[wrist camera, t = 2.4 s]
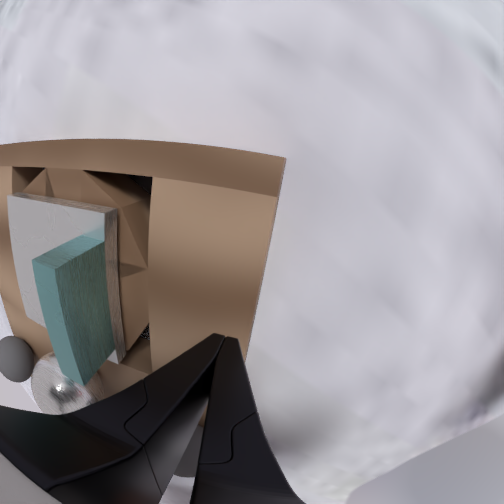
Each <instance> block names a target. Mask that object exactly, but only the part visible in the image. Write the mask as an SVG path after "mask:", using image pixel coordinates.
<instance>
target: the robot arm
mask: <svg viewBox="0 0 504 504" xmlns="http://www.w3.org/2000/svg"><path fill="white" fill-rule="evenodd" d="M207 404H208V405H207ZM206 406H207V411H206V416H205V422H204V428H203V434H202V440H201V446H200V452H199V458H198V465H197V470H196V476H195V481H194V486H193V490H192V495H191V499H190V504H306V503H304V502H303V501H302V500H301V499H300V498H299V497H298V496H297V495H296V494H295V492H294V491H293V490H292V488H291V487H290V485H289V483H288V482H287V480H286V478H285V476H284V474H283V472H282V470H281V468H280V466H279V464H278V462H277V460H276V458H275V456H274V454H273V452H272V450H271V448H270V446H269V443H268V441H267V439H266V436H265V433H264V431H263V428H262V424H261V421H260V418H259V414H258V412H257V407H256V404H255V400H254V396H253V393H252V389H251V385H250V382H249V378H248V374H247V370H246V366H245V362H244V358H243V354H242V351H241V347H240V343H239V340H238V338H234V337H230V336H227V337H225V335H222V334H218V333H213V334H211V335H210V336H208V337H207V338H205V339H204V340H202V341H201V342H199V343H198V344H196V345H194V346H193V347H191V348H190V349H188V350H187V351H185V352H184V353H182V354H181V355H179V356H178V357H176V358H175V359H173V360H171V361H170V362H168V363H167V364H165V365H164V366H162V367H160V368H159V369H157V370H156V371H154V372H152V373H151V374H149V375H148V376H146V377H144V378H143V379H141V380H139V381H138V382H136V383H134V384H133V385H131V386H129V387H127V388H126V389H124V390H122V391H120V392H118V393H116V394H114V395H112V396H110V397H107V398H105V399H103V400H100V401H98V402H96V403H93V404H91V405H88V406H86V407H83V408H81V409H78V410H76V411H73V412H70V413H66V414H59V415H52V414H44V413H37V412H31V411H25V410H19V409H14V408H10V407H5V406H1V405H0V504H159V502H160V500H161V498H162V495H163V494H164V492H165V490H166V488H167V486H168V484H169V482H170V480H171V478H172V476H173V474H174V472H175V470H176V468H177V466H178V464H179V462H180V460H181V458H182V456H183V454H184V452H185V450H186V448H187V445H188V443H189V441H190V439H191V437H192V435H193V433H194V431H195V429H196V427H197V425H198V423H199V421H200V418H201V416H202V414H203V412H204V410H205V408H206Z"/></svg>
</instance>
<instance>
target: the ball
mask: <svg viewBox="0 0 504 504" xmlns="http://www.w3.org/2000/svg"><path fill="white" fill-rule="evenodd" d="M31 387H32V392H33V396H34V399H35V401H36V403H37V405H38V406H39V408H40V409H41V410H42V412H43V413H44V414H52V415H59V414H66V413H70V412H73V411H76V410H78V409H81V408H83V407H86V406H88V405H91V404H93V403H96V402H98V401H100V400H103V399H104V389H103V385H102V382H101V379H100V377H99V375H98V373H97V372H96V373H95V374H94V375H93V377H92V378H91V379H90V380H89V382H88V383H87V384H86V385H85V387H84V386H82V385H80V384H78V383H77V382H75V381H73V380H71V379H70V378H68V377H66V376H64V375H63V374H62V372H61V369H60V367H59V364H58V361H57V358H56V356H55V353H54V351H53V352H50V353H48V354H46V355H44V356H43V357H42V358H40V360H39V361H38V362H37V363H36V365H35V367H34V369H33V373H32V377H31Z"/></svg>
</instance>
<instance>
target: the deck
mask: <svg viewBox="0 0 504 504" xmlns="http://www.w3.org/2000/svg"><path fill="white" fill-rule="evenodd" d="M285 163H286V158H284V157H279V156H273V155H268V154H262V153H256V152H250V151H243V150H237V149H230V148H223V147H215V146H207V145H198V144H188V143H177V142H165V141H150V140H130V139H65V140H46V141H32V142H21V143H12V144H4V145H0V294H1V297H2V301H3V304H4V308H5V311H6V314H7V317H8V320H9V323H10V326H11V329H12V332H13V334H14V336H15V337H18V338H20V339H22V340H23V341H25V342H26V343H27V344H28V346H29V347H30V349H31V351H32V353H33V356H34V362H35V365H36V363H37V362H38V361H39V360H40V358H42V357H43V356H44V355H46V354H48V353H50V352H53V351H54V350H53V347H52V344H51V341H50V338H49V334H48V331H47V329H46V328H45V327H43V326H41V325H40V324H38V323H36V322H35V321H33V320H32V319H30V318H28V317H27V316H26V312H25V308H24V305H23V301H22V297H21V293H20V289H19V284H18V280H17V275H16V270H15V265H14V259H13V253H12V246H11V238H10V229H9V219H8V204H7V195H10V194H13V193H17V192H22V193H28V194H34V195H41V196H47V197H53V198H59V199H65V200H71V201H77V202H83V203H88V204H94V205H100V206H106V207H111V208H117V264H118V284H119V298H120V309H121V319H122V327H123V335H124V343H125V350H126V355H125V357H124V358H123V359H122V360H121V362H120V363H119V364H116V363H114V362H112V361H109V360H106V361H105V362H104V363H103V364H102V366H101V367H100V368H99V369H98V371H97V373H98V375H99V377H100V379H101V382H102V385H103V389H104V399H105V398H107V397H110V396H112V395H114V394H116V393H118V392H120V391H122V390H124V389H126V388H127V387H129V386H131V385H133V384H134V383H136V382H138V381H139V380H141V379H143V378H144V377H146V376H148V375H149V374H151V373H152V372H154V371H156V370H157V369H159V368H160V367H162V366H164V365H165V364H167V363H168V362H170V361H171V360H173V359H175V358H176V357H178V356H179V355H181V354H182V353H184V352H185V351H187V350H188V349H190V348H191V347H193V346H194V345H196V344H198V343H199V342H201V341H202V340H204V339H205V338H207V337H208V336H210V335H211V334H213V333H218V334H222V335H225V337H227V336H230V337H234V338H238V340H239V343H240V347H241V351H242V354H243V358H244V362H245V360H246V355H247V351H248V346H249V341H250V337H251V332H252V328H253V323H254V318H255V313H256V309H257V304H258V299H259V294H260V290H261V285H262V280H263V275H264V270H265V265H266V260H267V255H268V250H269V245H270V240H271V235H272V230H273V225H274V220H275V215H276V210H277V205H278V200H279V194H280V189H281V184H282V179H283V173H284V168H285ZM43 167H45V169H44V170H43ZM127 174H132V175H141V176H149V177H153V180H152V191H151V195H150V194H149V193H147V192H146V191H145V190H144V189H143V188H142V187H141V186H139V185H138V184H137V183H136V182H135V181H134V180H133V179H131V178H130V177H129V176H128V175H127ZM148 325H149V332H150V340H148V339H145V338H142V337H139V336H140V335H141V334H142V333H143V331H144V330H145V329H146V328H147V327H148ZM35 365H34V367H35ZM31 377H32V375H31ZM207 405H208V404H207ZM206 411H207V406H206V408H205V410H204V412H203V414H202V416H201V418H200V421H199V423H198V425H200V426H202V427H203V428H204V422H205V416H206Z"/></svg>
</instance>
